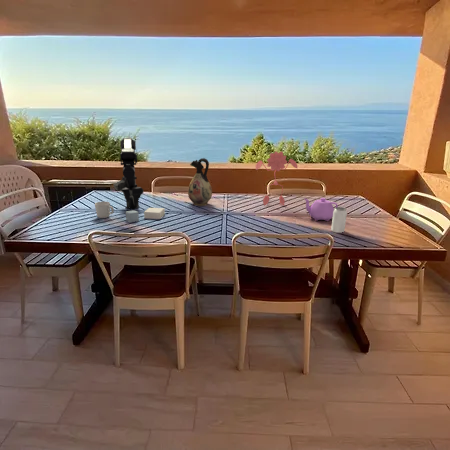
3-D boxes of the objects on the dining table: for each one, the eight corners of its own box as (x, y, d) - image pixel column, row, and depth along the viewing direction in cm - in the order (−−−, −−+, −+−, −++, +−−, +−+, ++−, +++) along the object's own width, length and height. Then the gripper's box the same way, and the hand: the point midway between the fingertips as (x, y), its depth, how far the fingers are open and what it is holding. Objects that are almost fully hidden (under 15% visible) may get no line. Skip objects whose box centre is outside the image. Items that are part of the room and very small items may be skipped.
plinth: (144, 218, 193) (144, 211, 192) (149, 214, 202) (149, 207, 200) (160, 219, 192) (159, 212, 191) (164, 215, 201) (164, 208, 199)
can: (329, 229, 180) (331, 207, 177) (341, 229, 181) (344, 206, 177) (333, 233, 174) (336, 210, 171) (346, 233, 175) (349, 210, 171)
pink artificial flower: (253, 203, 230) (255, 149, 218) (292, 204, 229) (296, 150, 218) (254, 209, 215) (257, 152, 203) (296, 210, 215) (301, 153, 203)
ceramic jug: (183, 205, 220) (182, 158, 210) (194, 200, 233) (194, 155, 224) (208, 209, 214) (208, 160, 204) (217, 203, 227) (218, 157, 218)
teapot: (303, 221, 192) (305, 200, 188) (300, 214, 206) (302, 194, 202) (339, 223, 191) (342, 201, 187) (334, 216, 204) (337, 195, 200)
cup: (118, 216, 195) (117, 202, 193) (109, 220, 188) (108, 206, 186) (102, 214, 198) (101, 200, 196) (92, 218, 191) (91, 204, 189)
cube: (138, 221, 188) (138, 212, 187) (130, 222, 185) (129, 213, 184) (134, 218, 192) (134, 210, 190) (126, 220, 189) (125, 211, 187)
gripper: (107, 173, 183) (109, 202, 187) (122, 179, 169) (124, 210, 174) (127, 171, 189) (129, 199, 194) (143, 177, 176) (144, 206, 181)
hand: (131, 203), depth 186 cm, fingers open, 9 cm apart
